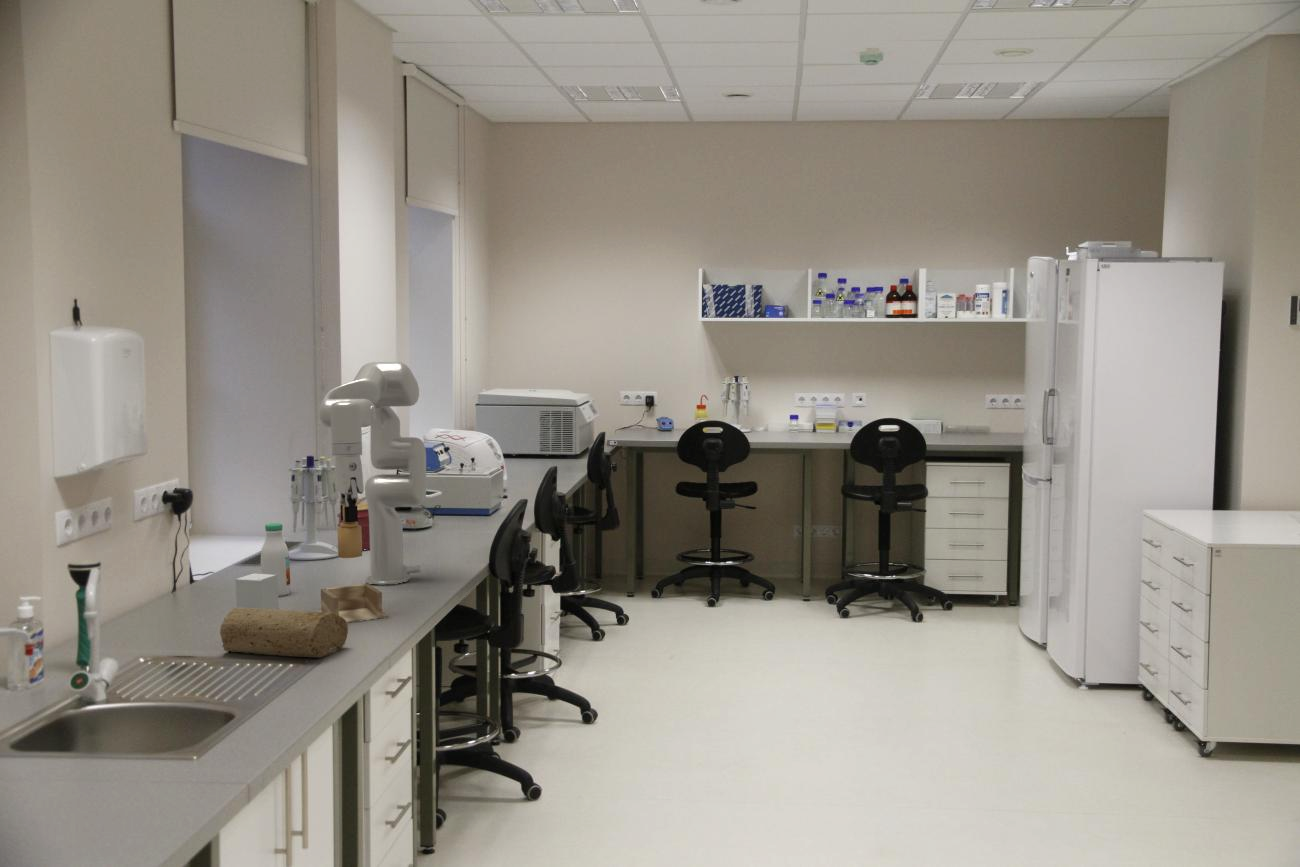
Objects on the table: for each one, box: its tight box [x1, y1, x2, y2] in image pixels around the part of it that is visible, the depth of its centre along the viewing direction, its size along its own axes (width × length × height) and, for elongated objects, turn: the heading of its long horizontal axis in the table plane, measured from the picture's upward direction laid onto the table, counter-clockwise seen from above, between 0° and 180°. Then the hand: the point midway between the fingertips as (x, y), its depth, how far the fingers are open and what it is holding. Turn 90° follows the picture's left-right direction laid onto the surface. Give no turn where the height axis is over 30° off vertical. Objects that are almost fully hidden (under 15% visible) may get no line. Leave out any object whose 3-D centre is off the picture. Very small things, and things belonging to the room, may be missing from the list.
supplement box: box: [235, 573, 280, 610], centre depth 296 cm, size 7×7×13 cm
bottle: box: [336, 497, 363, 559], centre depth 304 cm, size 6×6×15 cm
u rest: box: [318, 583, 389, 624], centre depth 306 cm, size 15×14×7 cm
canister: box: [336, 497, 370, 550], centre depth 403 cm, size 13×13×18 cm
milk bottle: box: [260, 522, 292, 597], centre depth 332 cm, size 8×8×20 cm
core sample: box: [219, 607, 349, 659], centre depth 272 cm, size 14×26×10 cm, turn 75°
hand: (349, 520), depth 304 cm, fingers closed on bottle, 3 cm apart
